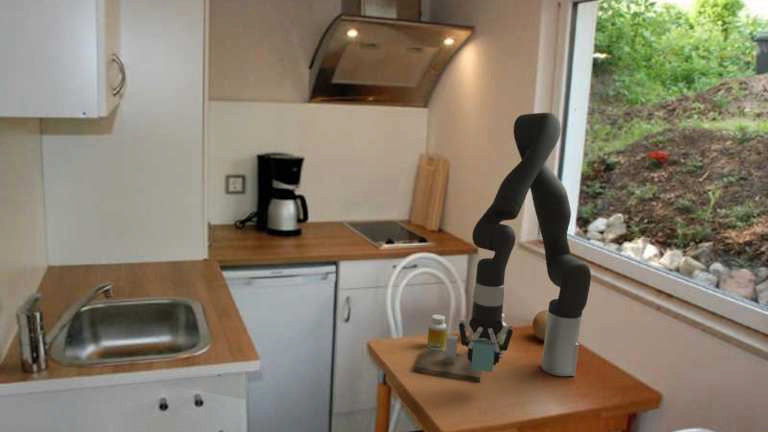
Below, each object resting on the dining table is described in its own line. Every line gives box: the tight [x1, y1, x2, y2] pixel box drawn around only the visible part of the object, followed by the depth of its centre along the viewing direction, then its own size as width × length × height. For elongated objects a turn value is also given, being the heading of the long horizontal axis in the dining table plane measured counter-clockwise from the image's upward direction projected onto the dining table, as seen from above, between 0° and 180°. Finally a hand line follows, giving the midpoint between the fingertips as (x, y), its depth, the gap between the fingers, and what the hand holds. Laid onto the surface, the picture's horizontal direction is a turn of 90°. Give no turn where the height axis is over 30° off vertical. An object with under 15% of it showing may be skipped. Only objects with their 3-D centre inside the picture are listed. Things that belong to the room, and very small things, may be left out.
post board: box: [413, 347, 483, 383], centre depth 183 cm, size 18×14×2 cm
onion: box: [531, 309, 548, 342], centre depth 208 cm, size 10×10×10 cm
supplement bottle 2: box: [497, 312, 507, 359], centre depth 193 cm, size 7×7×13 cm
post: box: [445, 334, 459, 365], centre depth 182 cm, size 3×3×8 cm
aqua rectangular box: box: [471, 337, 495, 373], centre depth 166 cm, size 5×5×7 cm
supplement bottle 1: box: [426, 314, 448, 351], centre depth 196 cm, size 5×5×10 cm
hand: (482, 362), depth 167 cm, fingers closed on aqua rectangular box, 5 cm apart
